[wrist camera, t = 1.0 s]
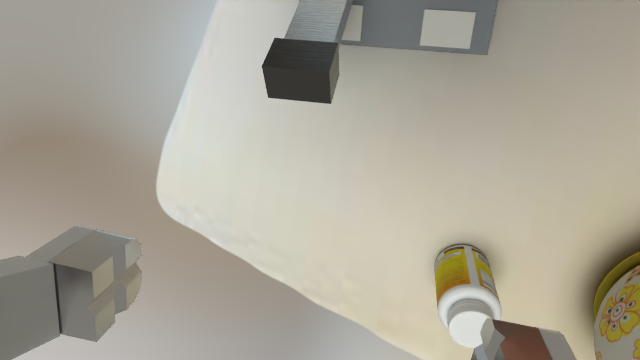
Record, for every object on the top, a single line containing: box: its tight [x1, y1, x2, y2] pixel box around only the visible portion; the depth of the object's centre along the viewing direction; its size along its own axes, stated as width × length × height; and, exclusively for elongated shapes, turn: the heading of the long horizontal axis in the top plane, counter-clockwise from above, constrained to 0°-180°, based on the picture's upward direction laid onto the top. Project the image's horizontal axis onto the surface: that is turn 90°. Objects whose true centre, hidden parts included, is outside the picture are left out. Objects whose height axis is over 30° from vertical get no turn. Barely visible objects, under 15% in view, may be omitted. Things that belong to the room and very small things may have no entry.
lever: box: [262, 0, 353, 104], centre depth 30 cm, size 4×2×15 cm, turn 87°
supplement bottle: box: [435, 245, 501, 348], centre depth 42 cm, size 6×6×10 cm
